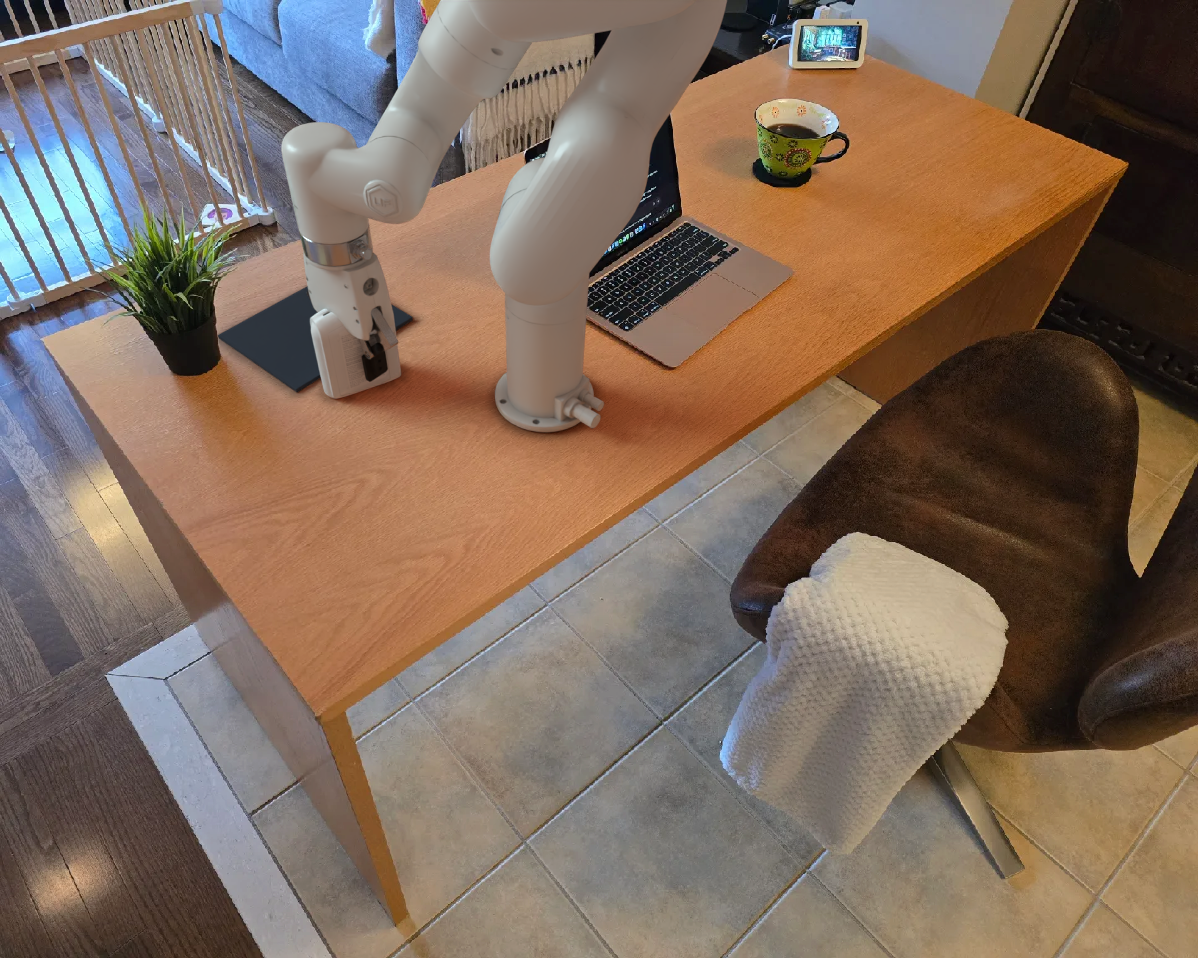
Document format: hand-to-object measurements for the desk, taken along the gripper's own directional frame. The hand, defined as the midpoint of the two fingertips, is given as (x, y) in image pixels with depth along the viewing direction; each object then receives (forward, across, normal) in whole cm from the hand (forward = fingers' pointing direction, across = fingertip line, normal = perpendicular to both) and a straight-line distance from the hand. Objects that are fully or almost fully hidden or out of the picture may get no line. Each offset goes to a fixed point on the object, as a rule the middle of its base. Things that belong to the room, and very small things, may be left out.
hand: (360, 363), depth 110 cm
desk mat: (+3, +12, -3) cm, 13 cm away
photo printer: (+3, 0, 0) cm, 3 cm away
